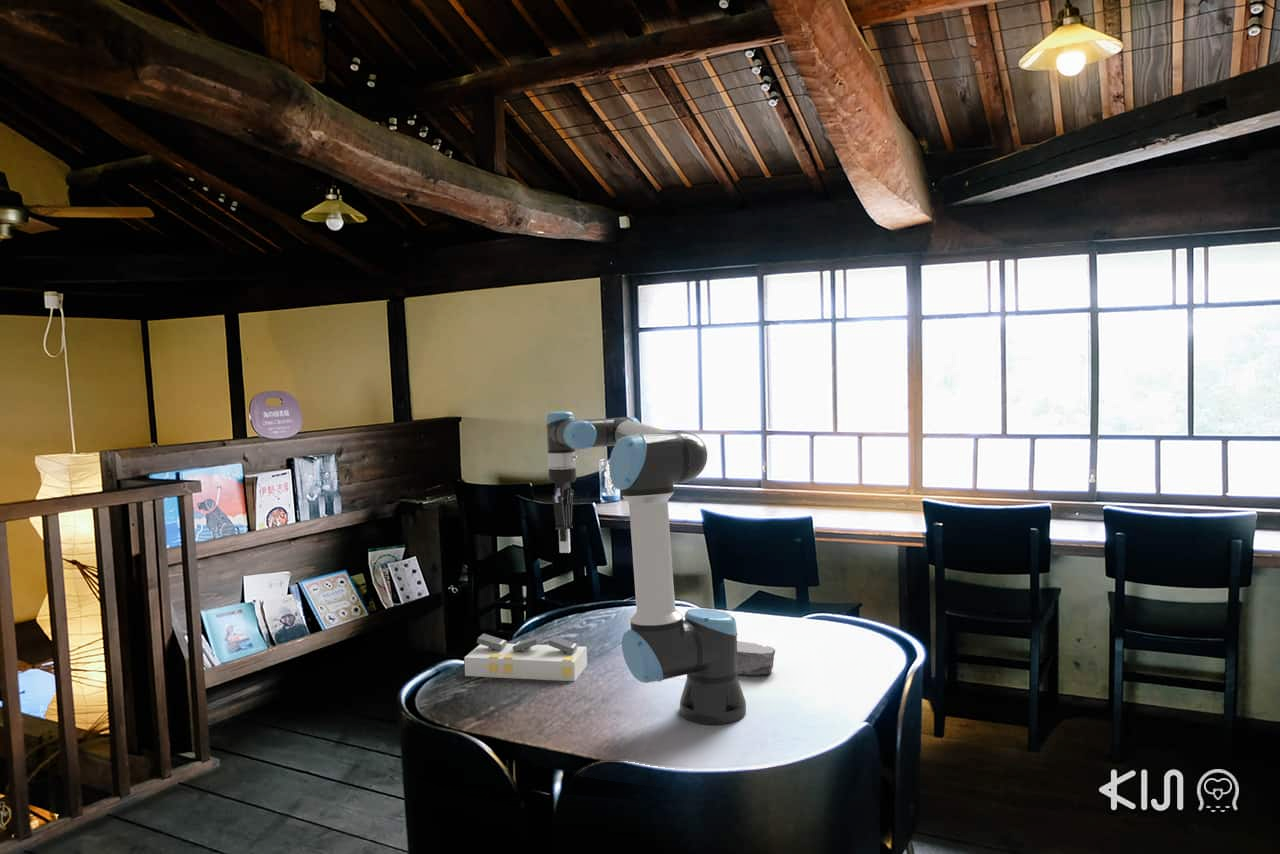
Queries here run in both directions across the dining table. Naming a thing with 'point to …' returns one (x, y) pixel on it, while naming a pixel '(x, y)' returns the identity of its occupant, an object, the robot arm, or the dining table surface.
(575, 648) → the rocker near
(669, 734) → the dining table surface
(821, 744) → the dining table surface
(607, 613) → the dining table surface
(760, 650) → the decorative stone
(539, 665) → the switch console
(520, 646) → the rocker middle
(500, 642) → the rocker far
